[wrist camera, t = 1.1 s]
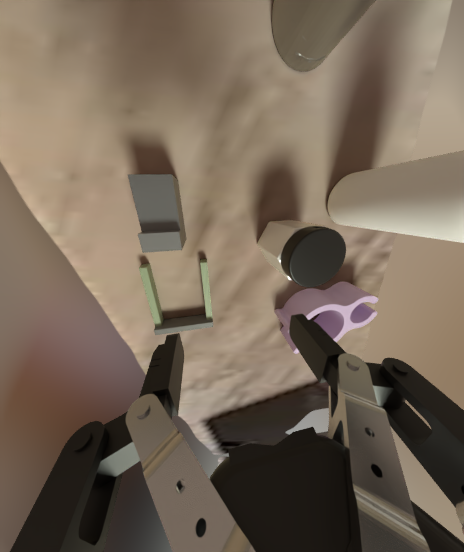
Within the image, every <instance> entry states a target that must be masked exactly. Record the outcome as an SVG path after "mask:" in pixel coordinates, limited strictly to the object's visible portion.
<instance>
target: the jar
mask: <svg viewBox="0 0 464 552" xmlns="http://www.w3.org/2000/svg"><path fill="white" fill-rule="evenodd" d="M257 245H258V246H259V248H260V250H261V252H262V253H263V255H264V257H265V259H266V260H267V262H268V263H270V264H271V265H272V266H273V267H274V268H275V269H277V270H278V271H279V272H280V273H281V274H282V275H283V276H285V277H286V278H287V279H288V280H293V281H294V282H295V283H297V284H298V285H300V286H303V287H316V286H319V285H322V284H324V283H326V282H327V281H329V280H330V279H331V278H332V277H334V276H335V275H336V273H337V272H338V271H339V269H340V268H341V266H342V264H343V262H344V259H345V254H346V245H345V242H344V239H343V237H342V236H341V235H340V234H339V233H338V232H337V231H335V230H332V229H329V228H326V227H325V226H324V225H318V224H312V223H306V222H301V221H295V220H283V221H270V222H269V223H268V224H267V226H266V228H265V230H264V232H263V234H262V235H261V237H260V239H259V241H258V243H257Z"/></svg>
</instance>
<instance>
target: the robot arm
mask: <svg viewBox="0 0 464 552" xmlns="http://www.w3.org/2000/svg"><path fill="white" fill-rule="evenodd" d="M375 1H376V0H274V2H273V8H272V28H273V35H274V40H275V44H276V47H277V49H278V52H279V54H280V55H281V57H282V59H283V60H284V62H285V63H286V64H287V65H288V66H289V67H291V68H293V69H294V70H297V71H301V72H303V71H310V70H312V69H314V68H316V67H317V66H319V65H320V64H321V63H322V62H323V61H324V59H325V58H326V57H327V56H328V55H329V54H330V53H331V51H332V50H333V49H334V48H335V47H336V46H337V45H338V43H339V42H340V41H341V40H342V39H343V38H344V36H345V35H346V34H347V33H348V32H349V31H350V30H351V29H352V27H353V26H354V25H355V24H356V23H357V22H358V20H359V19H360V18H361V17H362V16H363V15H364V13H365V12H366V11H367V10H368V9H369V8H370V6H371V5H372V4H373V3H374V2H375ZM289 334H290V338H291V340H292V341H293V343H294V344H295V346H296V347H297V349H298V350H299V352H300V353H301V355H302V356H303V358H304V359H305V361H306V363H307V364H308V366H309V367H310V369H311V370H312V372H313V373H314V375H315V376H316V378H317V379H318V381H319V382H320V383H323V382H327V383H328V384H329V427H328V435H327V437H326V436H323V435H319V434H316V432H315V430H314V428H313V427H311V428H307V429H303V430H299V431H296V432H293V433H292V434H290V435H289V436H287V437H286V438H285V439H283V440H282V441H281V442H279V443H278V444H276V445H274V446H271V445H261V444H247V445H243V446H239V447H235V448H232V449H228V450H229V457H228V458H227V459H225V460H224V461H223V462H222V463H221V464H220V465H219V466H218V467H217V468H216V469H215V471H214V472H213V474H212V475H211V477H210V479H209V478H208V476H207V475H206V473H205V472H204V470H203V468H202V467H201V465H200V463H199V462H198V460H197V458H196V457H195V455H194V454H193V452H192V451H191V449H190V447H189V446H188V444H187V443H186V441H185V439H184V437H183V436H182V434H181V433H180V432H179V431H178V430H177V429H176V427H175V425H174V424H173V422H172V416H176V415H178V410H179V401H180V391H181V382H182V373H183V363H184V350H183V346H182V342H181V338H180V334H179V333H178V334H172V335H167V337H166V340H165V344H162V345H159V346H158V347H157V348H156V350H155V351H154V352H153V355H152V359H151V362H150V365H149V368H148V371H147V375H146V378H145V381H144V384H143V387H142V390H141V394H140V396H139V398H138V399H137V400H136V401H135V402H134V403H133V404H132V405H131V407H130V408H129V410H128V411H127V412H126V413H124V414H123V415H122V416H119V417H118V418H116V419H114V420H112V421H110V422H108V423H106V424H105V425H103V424H102V423H101V422H99V421H94V422H90V423H88V424H86V425H84V426H83V427H81V428H80V429H79V430H78V431H76V432H75V433H74V434H73V435H72V436H71V438H70V439H69V440H68V441H67V443H66V444H65V446H64V448H63V450H62V452H61V453H60V456H59V457H58V459H57V461H56V463H55V465H54V467H53V469H52V471H51V473H50V475H49V477H48V479H47V481H46V483H45V485H44V487H43V488H42V490H41V493H40V494H39V497H38V498H37V500H36V502H35V504H34V506H33V508H32V510H31V512H30V514H29V516H28V518H27V520H26V522H25V524H24V525H23V527H22V529H21V531H20V533H19V535H18V537H17V539H16V541H15V543H14V545H13V547H12V549H11V551H10V552H103V551H104V547H105V543H106V539H107V534H108V531H109V527H110V523H111V518H112V514H113V511H114V506H115V502H116V498H117V494H118V490H119V486H120V482H121V478H122V474H123V472H124V471H125V470H127V469H128V468H130V467H131V466H133V465H134V464H136V463H137V462H139V461H141V463H142V466H143V473H144V477H145V479H146V482H147V485H148V488H149V490H150V493H151V496H152V498H153V501H154V504H155V506H156V509H157V511H158V514H159V517H160V519H161V522H162V525H163V527H164V530H165V533H166V535H167V538H168V541H169V543H170V546H171V548H172V551H173V552H464V543H463V542H462V541H461V540H459V539H458V538H457V537H455V536H454V535H453V534H452V533H451V532H449V531H448V530H447V529H446V528H444V527H443V526H442V525H441V524H440V523H438V522H437V521H436V520H434V519H433V518H432V517H431V516H430V515H428V514H427V513H426V512H425V511H423V510H422V509H421V508H420V507H418V506H417V505H416V504H415V503H413V502H412V501H411V500H410V497H409V493H408V490H407V486H406V482H405V479H404V475H403V471H402V468H401V464H400V461H399V458H398V453H397V450H396V446H395V442H394V439H393V435H392V432H391V428H390V426H391V427H392V428H393V430H394V431H395V432H396V433H397V434H398V436H399V437H400V438H401V440H402V441H403V442H404V443H405V445H406V446H407V447H408V448H409V450H410V451H411V452H412V453H413V454H414V456H415V457H416V458H417V460H418V461H419V462H420V463H421V465H422V466H423V467H424V469H425V470H426V471H427V472H428V474H429V475H430V476H431V477H432V479H433V480H434V481H435V482H436V484H437V485H438V486H439V487H440V489H441V490H442V491H443V492H444V494H445V495H446V496H447V497H448V499H449V500H450V501H451V502H452V504H453V505H454V506H455V508H456V512H457V515H458V518H459V520H460V522H461V524H462V526H463V527H462V531H463V533H464V410H463V409H461V408H460V407H459V406H458V405H457V404H455V403H454V402H453V401H452V400H451V399H449V398H448V397H447V396H446V395H445V394H443V393H442V392H441V391H440V390H439V389H437V388H436V387H435V386H434V385H432V384H431V383H430V382H429V381H428V380H426V379H425V378H424V377H423V376H422V375H420V374H419V373H418V372H417V371H415V370H414V369H413V368H412V367H411V366H409V365H408V364H406V363H404V362H403V361H400V360H398V359H394V358H385V359H384V360H383V362H382V364H375V363H366V362H364V361H363V360H362V359H360V358H359V357H357V356H355V355H352V354H347V353H346V352H345V351H344V350H343V349H342V348H341V347H340V346H339V345H338V344H337V343H336V342H335V341H334V340H333V339H332V338H331V337H330V336H329V335H328V334H327V332H326V331H325V330H323V328H322V327H321V326H320V325H319V324H318V323H316V322H314V321H313V320H311V319H310V320H308V319H307V318H306V316H305V315H304V314H296V315H292V316H291V320H290V328H289ZM405 400H407V401H408V402H409V403H410V404H411V405H412V406H413V407H414V408H415V409H416V410H417V411H418V412H419V413H420V414H421V415H422V416H423V417H424V418H425V420H426V421H427V422H428V423H429V425H430V426H431V429H432V430H431V429H430V428H429V427H428V426H427V425H426V424H425V423H424V422H423V421H422V419H420V417H419V416H418V415H417V414H416V413H415V412H414V411H413V410H412V409H411V408H410V407H409V406H408V405H407V404H406V403H405Z"/></svg>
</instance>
